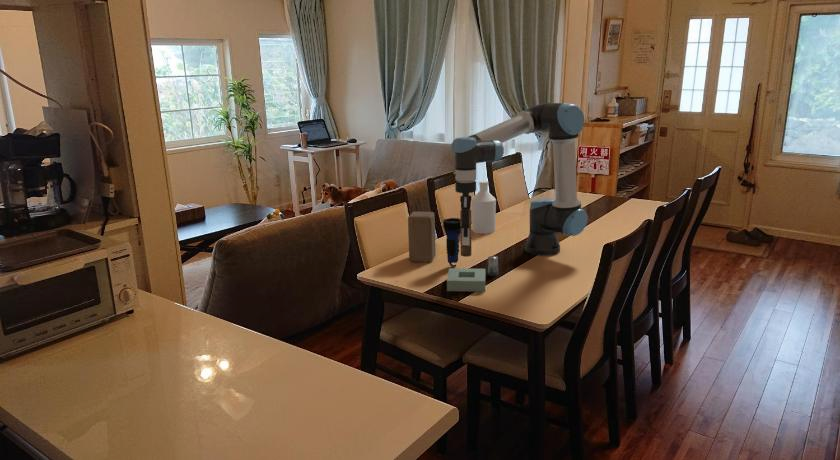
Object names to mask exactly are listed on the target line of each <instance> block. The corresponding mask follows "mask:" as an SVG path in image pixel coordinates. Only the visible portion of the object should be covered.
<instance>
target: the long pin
mask: <svg viewBox="0 0 840 460" xmlns="http://www.w3.org/2000/svg"><path fill="white" fill-rule="evenodd" d="M459 215H460V218H459V219H460V227H462V209H460V211H459ZM471 222H472V209H470V210H469V231H470V245H462V228H460V231H461V234H460V256H461V257H464V258H466V257H471V256H472V224H471Z"/></svg>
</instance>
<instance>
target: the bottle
mask: <svg viewBox="0 0 840 460" xmlns="http://www.w3.org/2000/svg"><path fill="white" fill-rule="evenodd" d="M478 185H479V191H478V192H476V194H475V196H473V197H471V222H472V224H471V231H472V233H474V232H475V233H474V234H478V233H479V235H487V234H488V233H490V234H494V233H496V213H497V212H496V210H497V209H496V208H497V205H496V204H497V199H496V198H495V196H493V194H491V193H490V191H489V190H488V189H489V181H488V180H480V181H478ZM488 235H489V234H488Z"/></svg>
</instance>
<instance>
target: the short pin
mask: <svg viewBox="0 0 840 460" xmlns="http://www.w3.org/2000/svg"><path fill="white" fill-rule="evenodd" d="M498 275H499V257H498V256H497V255H489V256H487V276H491V277H495V276H498Z"/></svg>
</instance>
